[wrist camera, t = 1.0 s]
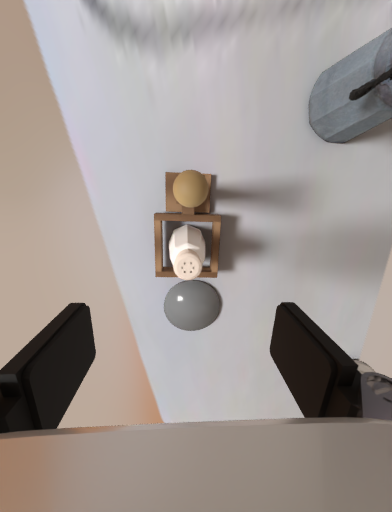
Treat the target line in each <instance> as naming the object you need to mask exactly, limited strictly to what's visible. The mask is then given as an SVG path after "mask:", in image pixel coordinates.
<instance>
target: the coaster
mask: <svg viewBox="0 0 392 512" xmlns="http://www.w3.org/2000/svg"><path fill="white" fill-rule="evenodd" d="M219 308H220V302H219V298H218V295H217V293H216V292H215V290H214V289H213V288H212V287H211V286H210V285H208V284H207V283H204V282H202V281H198V280H187V281H183V282H180V283H178V284H176V285H175V286H174V287H172V288H171V289H170V291H169V292H168V294H167V295H166V298H165V302H164V311H165V314H166V317H167V319H168V320H169V321H170V322H171V323H172V324H173V325H174V326H176V327H178V328H180V329H183V330H187V331H195V330H200V329H203V328H205V327H207V326H208V325H210V324H211V323H212V322H213V321H214V320H215V319H216V317H217V315H218V313H219Z"/></svg>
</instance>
